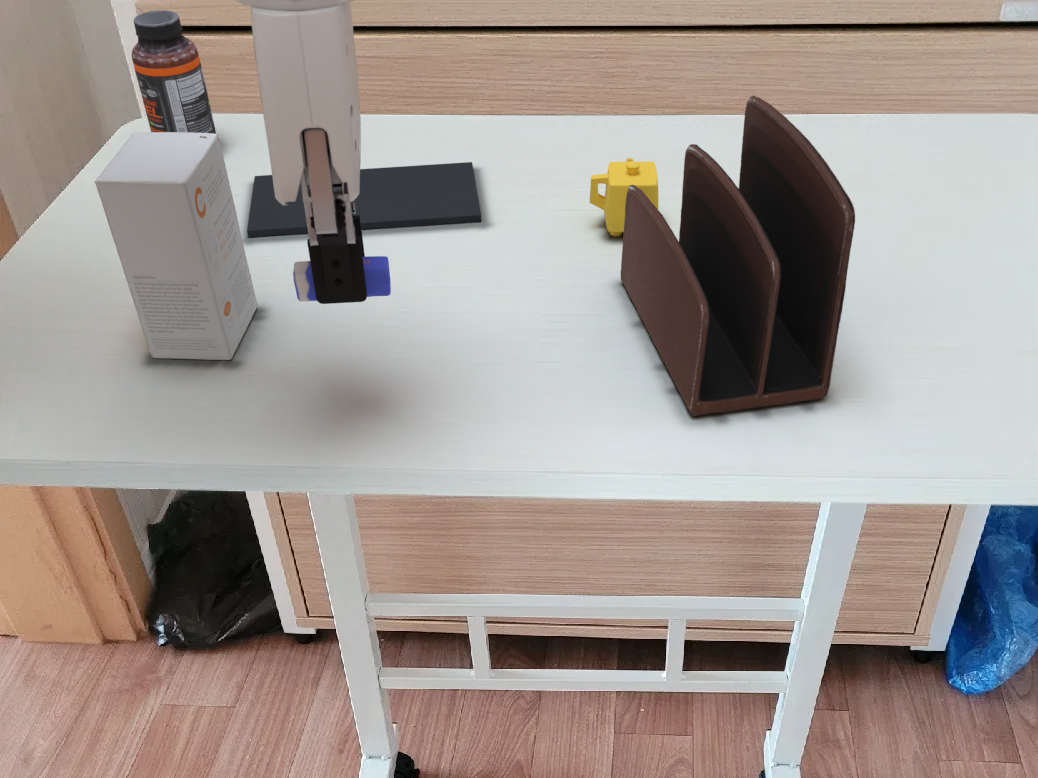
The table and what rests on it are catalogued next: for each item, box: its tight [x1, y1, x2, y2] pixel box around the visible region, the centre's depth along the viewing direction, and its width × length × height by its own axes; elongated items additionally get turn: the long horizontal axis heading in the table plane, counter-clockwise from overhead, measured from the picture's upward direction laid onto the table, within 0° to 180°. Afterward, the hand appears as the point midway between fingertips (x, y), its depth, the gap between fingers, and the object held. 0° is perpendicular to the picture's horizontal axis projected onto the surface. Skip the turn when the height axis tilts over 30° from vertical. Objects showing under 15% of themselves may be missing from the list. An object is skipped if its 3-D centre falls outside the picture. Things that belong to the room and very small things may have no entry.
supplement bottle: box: [131, 9, 217, 134], centre depth 103 cm, size 6×6×11 cm
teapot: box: [589, 157, 659, 237], centre depth 93 cm, size 8×6×5 cm
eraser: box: [292, 255, 392, 302], centre depth 71 cm, size 2×6×2 cm, turn 95°
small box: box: [94, 131, 259, 361], centre depth 80 cm, size 8×6×13 cm
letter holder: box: [620, 95, 856, 417], centre depth 77 cm, size 10×20×14 cm, turn 12°
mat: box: [246, 161, 482, 238], centre depth 99 cm, size 20×11×1 cm, turn 96°
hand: (342, 287), depth 72 cm, fingers closed on eraser, 2 cm apart
